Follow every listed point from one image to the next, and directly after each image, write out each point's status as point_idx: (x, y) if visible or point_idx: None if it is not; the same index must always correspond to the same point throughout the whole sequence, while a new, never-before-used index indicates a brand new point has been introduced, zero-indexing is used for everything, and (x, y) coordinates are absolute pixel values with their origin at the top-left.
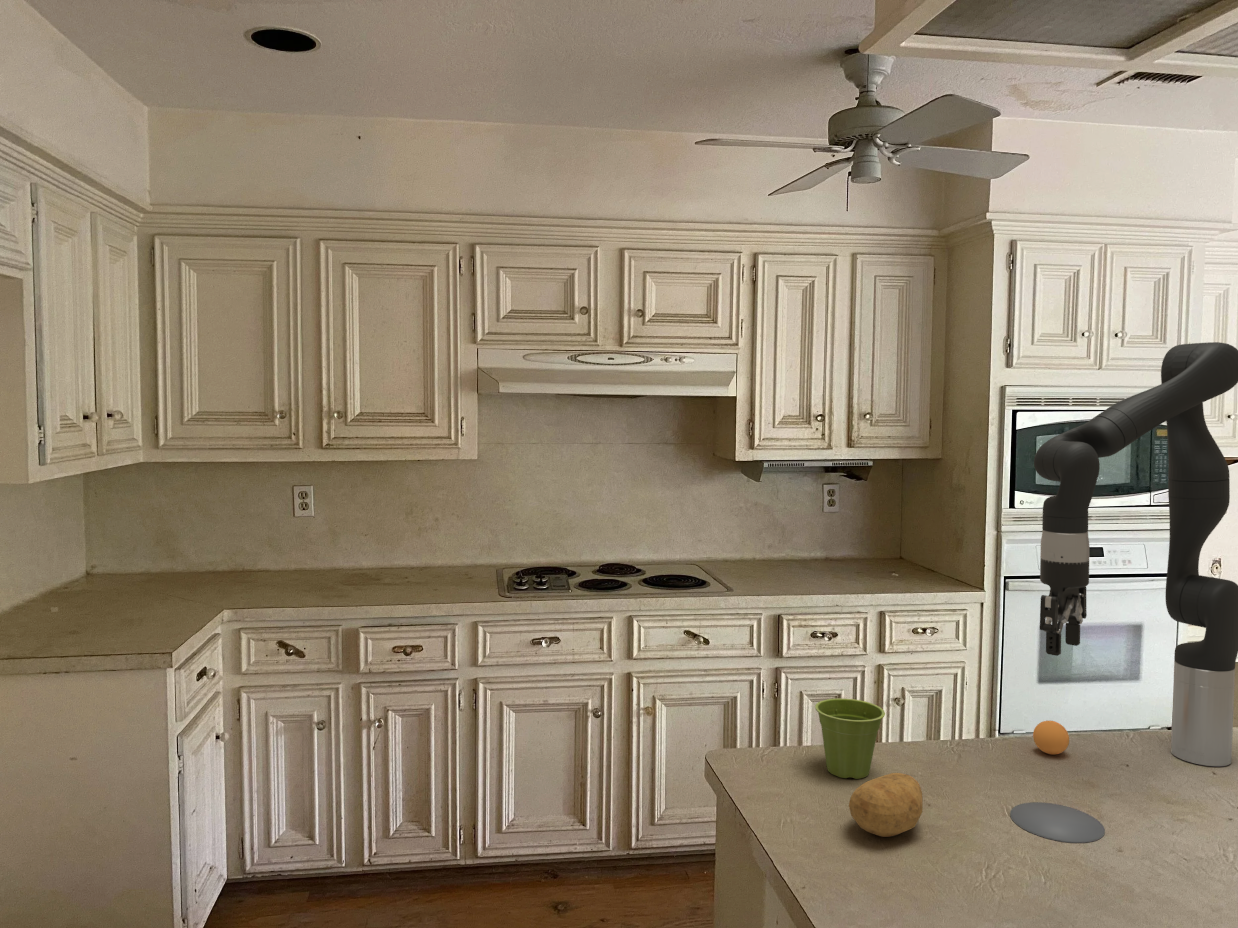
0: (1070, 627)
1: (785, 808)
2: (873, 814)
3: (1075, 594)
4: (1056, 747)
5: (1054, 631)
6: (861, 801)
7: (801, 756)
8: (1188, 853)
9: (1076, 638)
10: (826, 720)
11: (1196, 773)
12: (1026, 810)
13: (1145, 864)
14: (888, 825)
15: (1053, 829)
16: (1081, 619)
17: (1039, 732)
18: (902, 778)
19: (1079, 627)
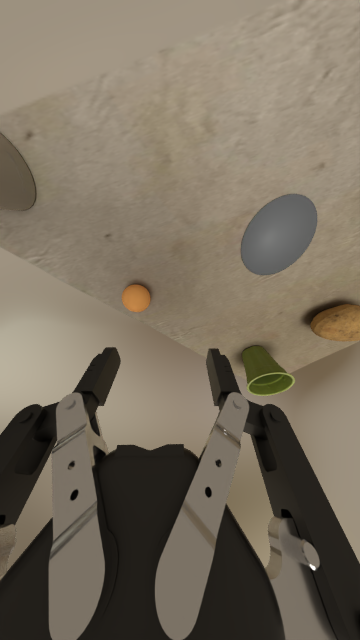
0: (104, 391)
1: (313, 351)
2: None
3: (48, 615)
4: (146, 289)
5: (279, 409)
6: None
7: (244, 369)
8: (308, 74)
9: (109, 360)
10: (284, 384)
11: (54, 158)
12: (265, 266)
13: (353, 123)
14: None
15: (296, 236)
16: (68, 407)
17: (147, 305)
18: (349, 330)
19: (90, 383)
